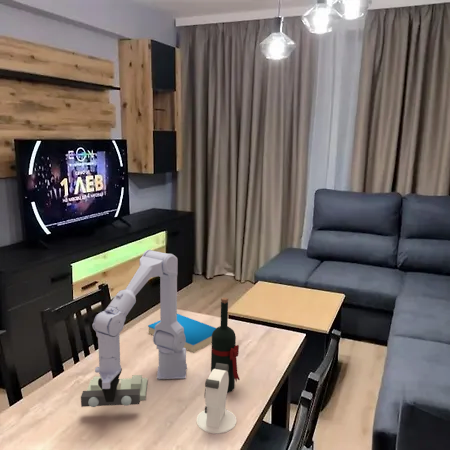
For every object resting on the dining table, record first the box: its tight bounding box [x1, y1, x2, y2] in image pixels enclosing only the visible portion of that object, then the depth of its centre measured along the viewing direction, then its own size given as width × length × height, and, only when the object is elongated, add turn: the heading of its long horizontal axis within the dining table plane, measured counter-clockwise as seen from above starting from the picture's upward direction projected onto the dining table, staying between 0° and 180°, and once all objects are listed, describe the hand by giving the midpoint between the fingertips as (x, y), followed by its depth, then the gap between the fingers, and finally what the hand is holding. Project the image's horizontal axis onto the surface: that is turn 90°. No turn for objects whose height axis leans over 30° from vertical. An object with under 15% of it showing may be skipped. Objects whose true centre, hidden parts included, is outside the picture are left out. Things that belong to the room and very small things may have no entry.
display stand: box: [86, 374, 148, 401], centre depth 139 cm, size 18×10×4 cm, turn 96°
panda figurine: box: [195, 363, 237, 435], centre depth 126 cm, size 12×11×15 cm
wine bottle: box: [210, 297, 240, 394], centre depth 140 cm, size 8×10×30 cm
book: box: [147, 313, 217, 353], centre depth 179 cm, size 17×4×25 cm
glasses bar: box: [80, 389, 141, 408], centre depth 127 cm, size 16×4×3 cm, turn 96°
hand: (111, 397), depth 127 cm, fingers closed on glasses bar, 3 cm apart
